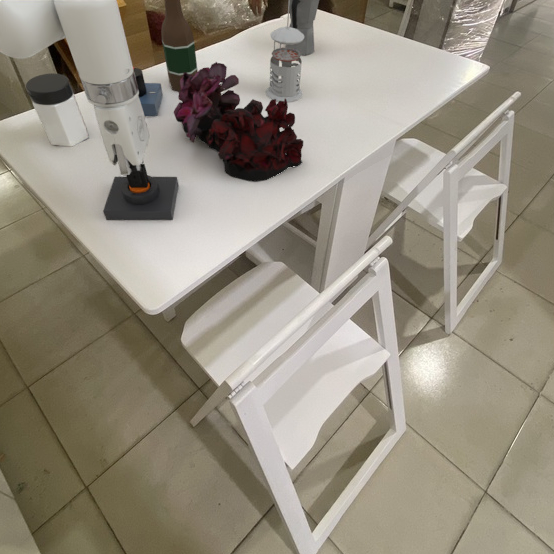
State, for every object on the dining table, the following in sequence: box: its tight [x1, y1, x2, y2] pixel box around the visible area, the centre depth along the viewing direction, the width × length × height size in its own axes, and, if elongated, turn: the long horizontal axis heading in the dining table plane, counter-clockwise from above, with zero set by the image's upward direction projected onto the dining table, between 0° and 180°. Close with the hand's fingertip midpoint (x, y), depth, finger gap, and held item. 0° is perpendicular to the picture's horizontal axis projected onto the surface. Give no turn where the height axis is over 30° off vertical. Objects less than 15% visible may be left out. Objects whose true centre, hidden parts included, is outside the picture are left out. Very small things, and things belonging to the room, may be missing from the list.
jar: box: [25, 73, 90, 147], centre depth 84 cm, size 9×8×12 cm
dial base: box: [139, 82, 164, 117], centre depth 97 cm, size 12×10×3 cm
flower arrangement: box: [173, 61, 304, 182], centre depth 83 cm, size 31×20×15 cm, turn 50°
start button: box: [129, 183, 150, 193], centre depth 74 cm, size 4×4×2 cm
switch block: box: [102, 174, 179, 221], centre depth 75 cm, size 12×10×4 cm
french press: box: [265, 0, 304, 103], centre depth 96 cm, size 10×12×25 cm
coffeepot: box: [287, 0, 320, 57], centre depth 114 cm, size 15×9×18 cm, turn 159°
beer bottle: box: [160, 0, 199, 93], centre depth 96 cm, size 8×8×24 cm
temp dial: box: [132, 65, 147, 97], centre depth 94 cm, size 5×5×5 cm
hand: (139, 184), depth 73 cm, fingers closed
